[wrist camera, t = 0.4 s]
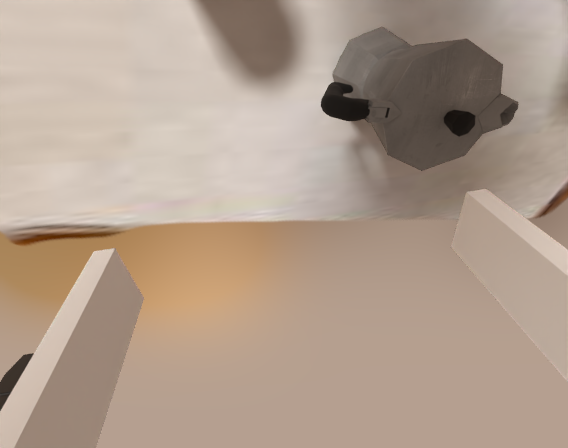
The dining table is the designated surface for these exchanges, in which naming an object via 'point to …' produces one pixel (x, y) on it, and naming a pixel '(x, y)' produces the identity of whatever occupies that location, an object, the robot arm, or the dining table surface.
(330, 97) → the coffeepot
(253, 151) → the dining table surface
